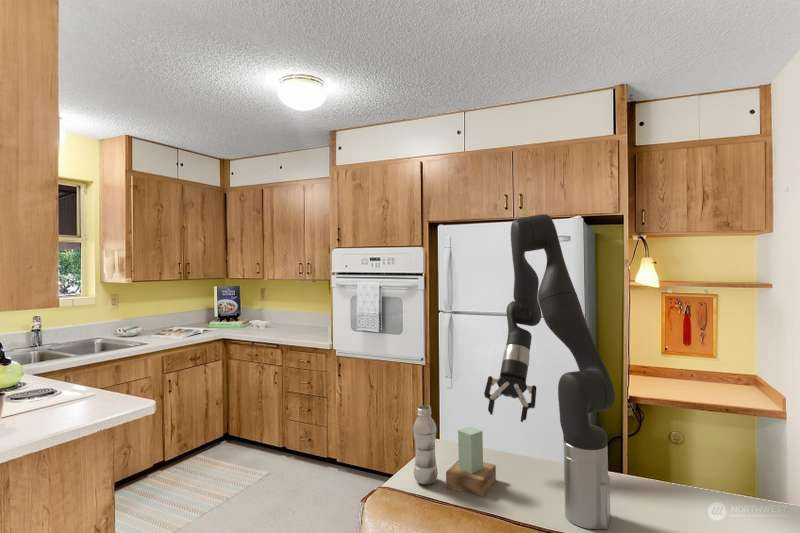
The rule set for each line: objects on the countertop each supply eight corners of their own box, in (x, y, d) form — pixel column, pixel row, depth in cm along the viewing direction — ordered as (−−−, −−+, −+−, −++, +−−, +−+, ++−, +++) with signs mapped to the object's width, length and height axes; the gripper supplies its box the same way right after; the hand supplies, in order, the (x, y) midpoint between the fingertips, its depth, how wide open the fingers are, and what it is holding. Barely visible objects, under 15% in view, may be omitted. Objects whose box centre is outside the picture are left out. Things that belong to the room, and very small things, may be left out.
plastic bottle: (438, 476, 124) (436, 403, 124) (437, 488, 117) (436, 411, 117) (414, 475, 124) (413, 403, 125) (413, 487, 118) (411, 411, 118)
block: (470, 462, 123) (469, 426, 123) (483, 468, 119) (482, 430, 119) (459, 467, 120) (458, 430, 120) (471, 473, 116) (470, 434, 116)
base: (495, 479, 121) (495, 464, 121) (482, 496, 113) (482, 480, 113) (461, 471, 126) (461, 457, 126) (446, 487, 118) (445, 471, 118)
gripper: (490, 354, 133) (480, 408, 126) (540, 363, 128) (533, 420, 121) (491, 362, 139) (481, 414, 132) (539, 372, 135) (532, 426, 127)
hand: (506, 417), depth 126 cm, fingers open, 8 cm apart
